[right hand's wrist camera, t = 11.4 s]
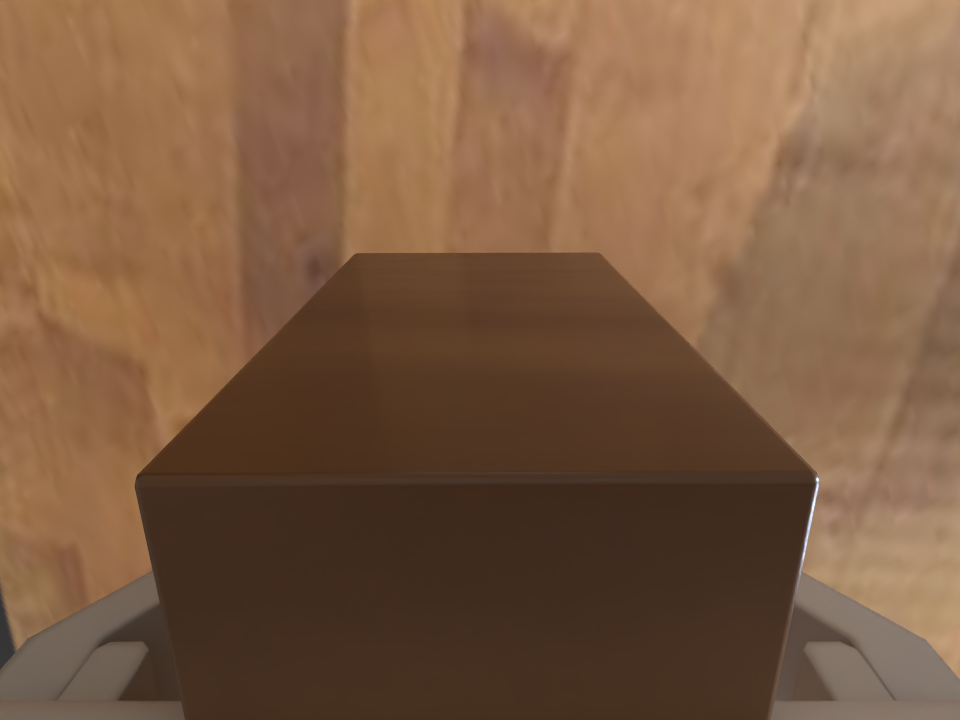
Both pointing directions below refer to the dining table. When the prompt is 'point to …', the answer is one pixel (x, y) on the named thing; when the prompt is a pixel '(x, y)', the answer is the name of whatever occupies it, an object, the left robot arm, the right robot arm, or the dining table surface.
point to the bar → (477, 509)
